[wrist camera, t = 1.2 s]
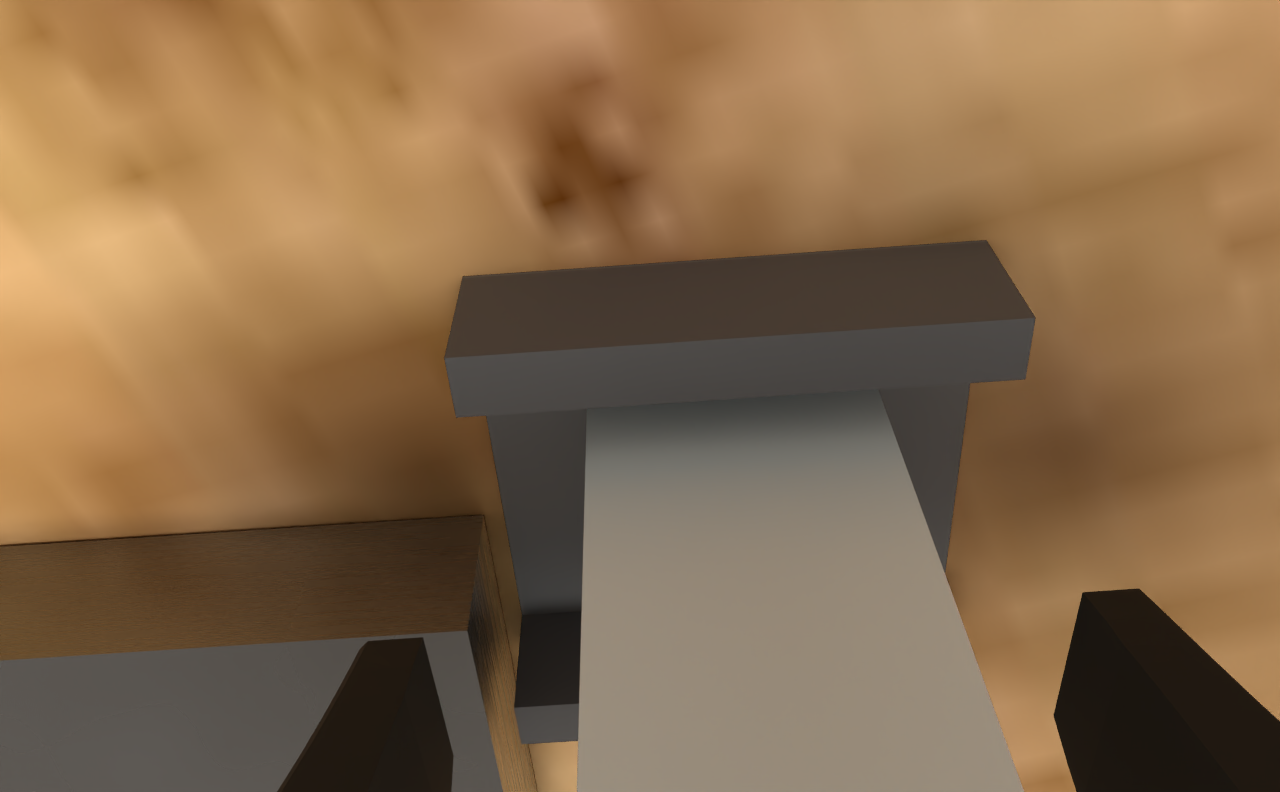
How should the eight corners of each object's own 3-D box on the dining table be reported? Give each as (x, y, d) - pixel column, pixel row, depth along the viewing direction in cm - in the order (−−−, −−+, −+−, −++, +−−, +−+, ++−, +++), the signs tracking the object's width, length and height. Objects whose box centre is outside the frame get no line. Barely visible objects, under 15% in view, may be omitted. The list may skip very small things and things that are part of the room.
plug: (865, 356, 14) (1100, 1000, 7) (852, 560, 16) (1026, 1209, 9) (587, 374, 14) (571, 1031, 7) (609, 575, 16) (611, 1231, 9)
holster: (981, 232, 13) (1035, 317, 12) (933, 610, 17) (968, 716, 15) (465, 268, 13) (444, 358, 12) (529, 636, 17) (521, 744, 16)
